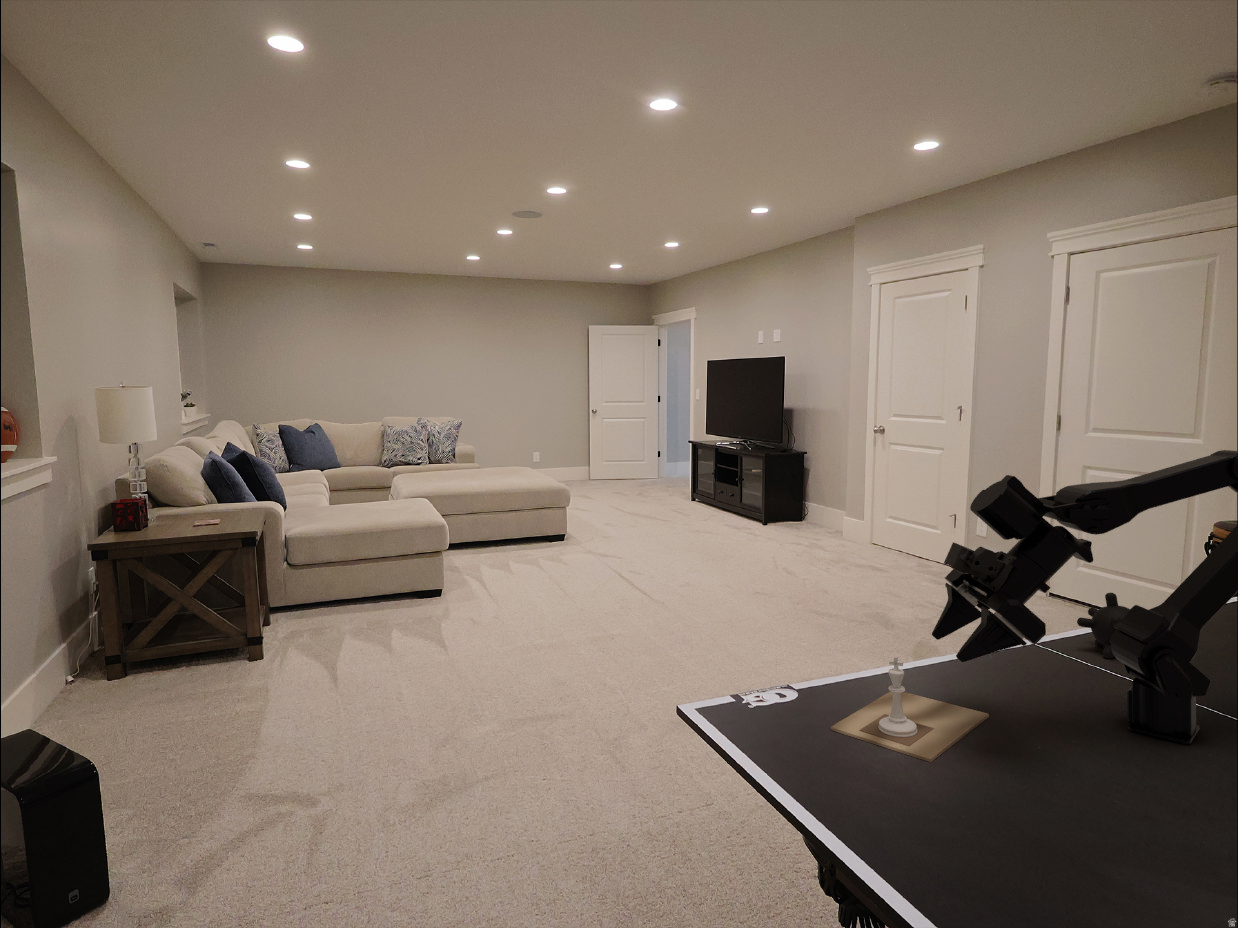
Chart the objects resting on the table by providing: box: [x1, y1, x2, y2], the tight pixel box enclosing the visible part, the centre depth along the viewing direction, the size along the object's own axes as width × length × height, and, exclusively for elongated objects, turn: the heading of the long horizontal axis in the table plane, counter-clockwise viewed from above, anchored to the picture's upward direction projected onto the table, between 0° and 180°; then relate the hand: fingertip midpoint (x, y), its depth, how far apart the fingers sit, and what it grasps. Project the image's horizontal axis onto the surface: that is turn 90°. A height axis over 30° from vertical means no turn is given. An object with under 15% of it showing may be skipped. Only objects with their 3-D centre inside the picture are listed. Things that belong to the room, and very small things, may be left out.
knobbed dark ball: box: [1076, 592, 1131, 660], centre depth 122 cm, size 11×11×12 cm
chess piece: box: [878, 655, 917, 737], centre depth 97 cm, size 5×5×10 cm
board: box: [830, 690, 990, 763], centre depth 100 cm, size 14×18×1 cm
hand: (946, 647), depth 96 cm, fingers open, 9 cm apart
